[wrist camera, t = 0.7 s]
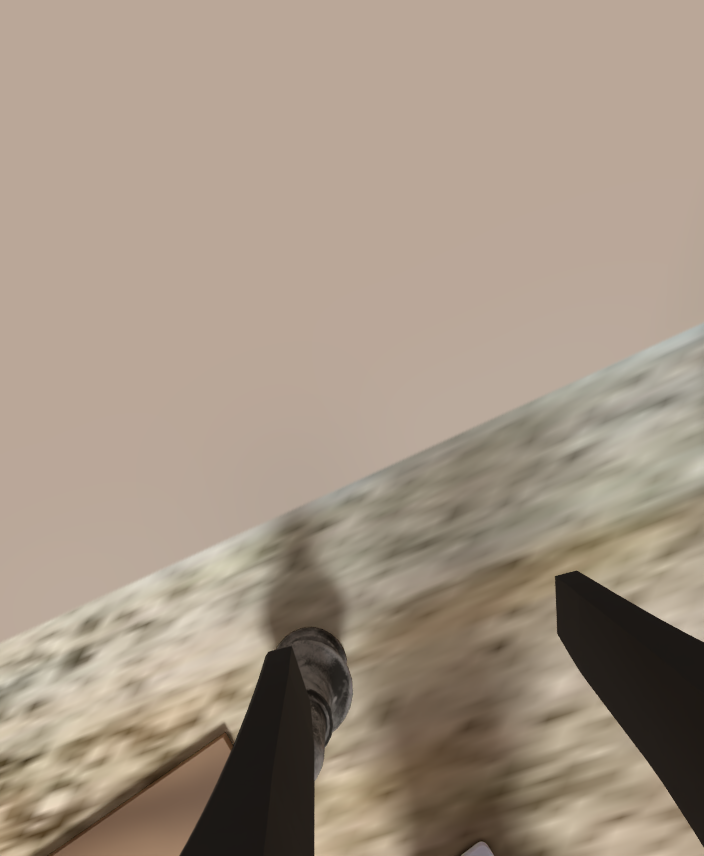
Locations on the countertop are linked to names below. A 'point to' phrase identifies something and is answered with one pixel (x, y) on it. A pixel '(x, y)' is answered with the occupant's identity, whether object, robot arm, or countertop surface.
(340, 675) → the dark grey turned piece
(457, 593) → the countertop surface
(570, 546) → the countertop surface
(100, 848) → the walnut board
